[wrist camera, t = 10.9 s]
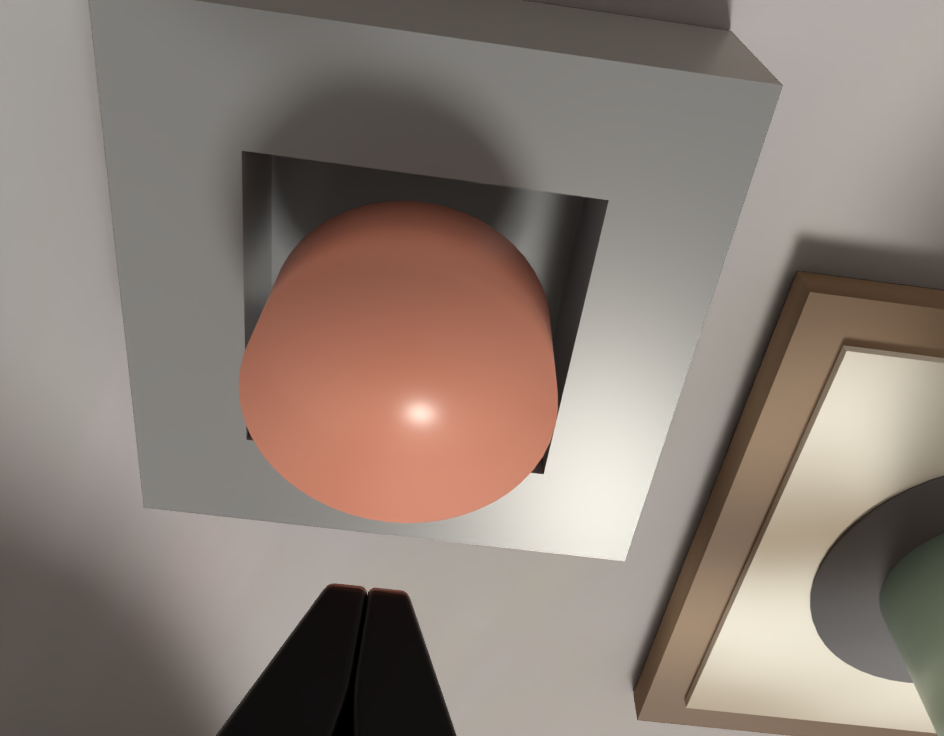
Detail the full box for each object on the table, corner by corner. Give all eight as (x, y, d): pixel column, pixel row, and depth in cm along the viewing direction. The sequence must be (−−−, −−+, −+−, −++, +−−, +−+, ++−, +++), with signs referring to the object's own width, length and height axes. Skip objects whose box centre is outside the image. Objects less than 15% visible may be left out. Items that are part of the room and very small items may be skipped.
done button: (524, 454, 15) (529, 538, 13) (269, 424, 15) (240, 505, 13) (575, 222, 13) (588, 289, 11) (270, 181, 12) (234, 244, 11)
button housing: (607, 458, 19) (625, 561, 16) (191, 409, 18) (144, 507, 16) (731, 31, 14) (782, 84, 11) (162, -53, 13) (86, -16, 11)
